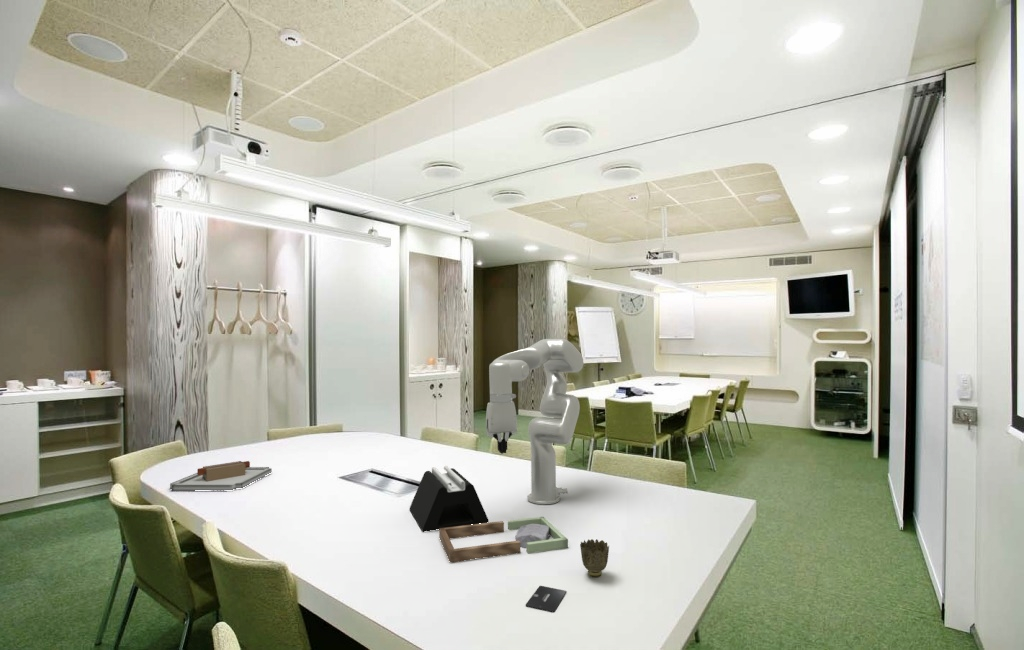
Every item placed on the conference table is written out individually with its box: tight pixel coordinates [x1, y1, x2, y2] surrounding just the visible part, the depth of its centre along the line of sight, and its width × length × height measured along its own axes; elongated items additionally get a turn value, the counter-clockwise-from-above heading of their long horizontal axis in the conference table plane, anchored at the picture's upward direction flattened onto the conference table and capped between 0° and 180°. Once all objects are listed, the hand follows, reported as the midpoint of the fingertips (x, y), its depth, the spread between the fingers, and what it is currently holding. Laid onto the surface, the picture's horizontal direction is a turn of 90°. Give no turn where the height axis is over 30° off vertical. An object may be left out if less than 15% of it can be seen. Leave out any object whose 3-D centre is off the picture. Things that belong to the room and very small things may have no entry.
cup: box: [579, 538, 610, 579], centre depth 127 cm, size 8×7×8 cm
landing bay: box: [507, 516, 569, 554], centre depth 152 cm, size 12×20×2 cm, turn 18°
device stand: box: [409, 465, 490, 533], centre depth 172 cm, size 22×22×15 cm
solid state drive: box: [525, 585, 567, 613], centre depth 116 cm, size 7×10×1 cm
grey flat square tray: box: [169, 460, 273, 492], centre depth 216 cm, size 30×30×8 cm
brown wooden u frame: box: [438, 520, 521, 563], centre depth 146 cm, size 20×18×3 cm
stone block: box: [515, 524, 550, 549], centre depth 150 cm, size 12×5×10 cm
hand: (502, 452), depth 166 cm, fingers closed
